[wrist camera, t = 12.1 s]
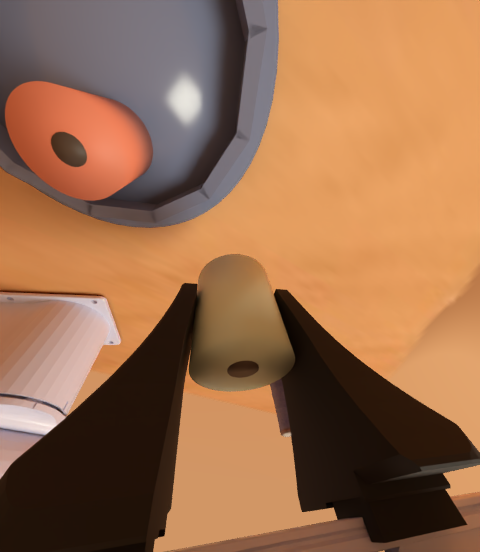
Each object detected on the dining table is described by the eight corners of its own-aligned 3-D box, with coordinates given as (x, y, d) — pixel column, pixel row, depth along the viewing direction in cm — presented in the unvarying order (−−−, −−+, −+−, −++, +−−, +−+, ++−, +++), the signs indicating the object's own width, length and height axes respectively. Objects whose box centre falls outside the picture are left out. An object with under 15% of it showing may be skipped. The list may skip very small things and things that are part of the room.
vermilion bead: (92, 174, 13) (36, 195, 9) (68, 91, 10) (-25, 68, 6) (156, 182, 13) (131, 205, 9) (147, 105, 11) (109, 93, 7)
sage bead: (205, 310, 12) (201, 398, 8) (190, 259, 10) (174, 349, 6) (266, 302, 12) (290, 384, 8) (267, 249, 10) (301, 331, 6)
